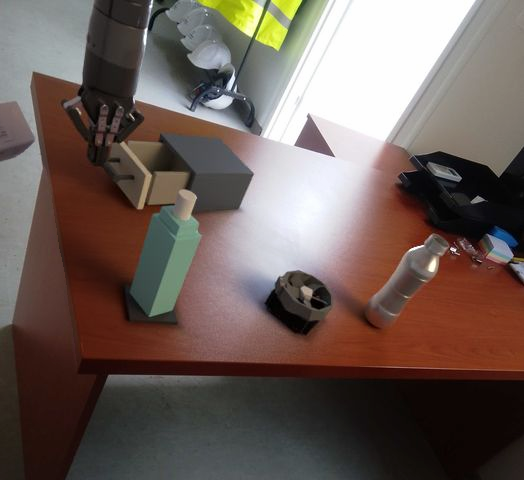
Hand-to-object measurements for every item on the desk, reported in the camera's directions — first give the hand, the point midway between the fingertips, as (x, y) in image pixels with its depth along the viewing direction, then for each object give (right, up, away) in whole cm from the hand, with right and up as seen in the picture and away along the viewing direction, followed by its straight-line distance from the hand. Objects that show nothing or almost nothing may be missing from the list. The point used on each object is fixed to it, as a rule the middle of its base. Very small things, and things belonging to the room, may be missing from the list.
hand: (95, 163), depth 75 cm
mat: (+11, -24, -7) cm, 27 cm away
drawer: (+5, -1, +10) cm, 12 cm away
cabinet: (+13, +2, +19) cm, 24 cm away
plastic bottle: (+50, -25, +16) cm, 58 cm away
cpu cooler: (+33, -24, +7) cm, 41 cm away
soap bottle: (+11, -24, -7) cm, 27 cm away
